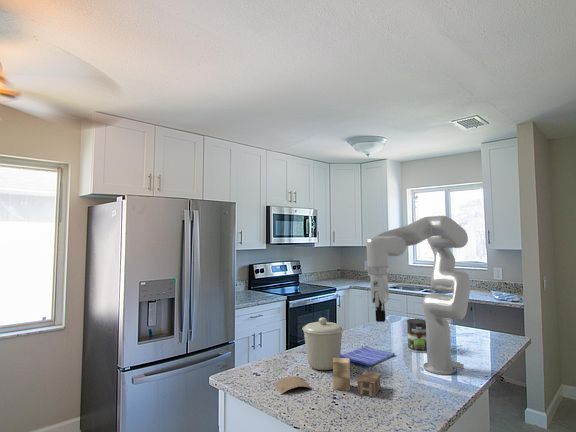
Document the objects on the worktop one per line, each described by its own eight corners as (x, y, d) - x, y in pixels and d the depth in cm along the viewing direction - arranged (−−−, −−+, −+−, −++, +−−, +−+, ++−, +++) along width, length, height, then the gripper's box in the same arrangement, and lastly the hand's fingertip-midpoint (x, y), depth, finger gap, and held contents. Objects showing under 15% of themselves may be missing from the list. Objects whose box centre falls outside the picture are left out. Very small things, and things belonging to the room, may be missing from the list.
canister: (294, 366, 158) (293, 317, 159) (321, 356, 171) (320, 311, 172) (326, 377, 145) (325, 324, 147) (352, 366, 158) (351, 317, 159)
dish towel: (335, 360, 167) (335, 354, 167) (364, 349, 183) (364, 343, 184) (367, 370, 155) (367, 363, 155) (395, 356, 171) (395, 350, 171)
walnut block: (374, 397, 127) (380, 387, 136) (374, 383, 127) (380, 373, 136) (357, 394, 130) (364, 384, 139) (357, 380, 130) (364, 371, 139)
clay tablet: (305, 380, 144) (305, 373, 144) (316, 390, 135) (315, 383, 135) (270, 386, 139) (270, 379, 139) (279, 397, 130) (279, 389, 130)
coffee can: (431, 353, 173) (430, 323, 174) (408, 352, 176) (407, 322, 177) (428, 347, 183) (427, 318, 184) (406, 345, 186) (405, 318, 187)
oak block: (350, 385, 138) (349, 358, 138) (349, 390, 133) (349, 362, 133) (334, 384, 139) (333, 357, 139) (333, 389, 134) (332, 362, 135)
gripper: (384, 273, 125) (387, 327, 125) (391, 268, 139) (394, 316, 138) (363, 273, 129) (365, 325, 128) (372, 268, 142) (374, 315, 141)
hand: (380, 320), depth 133 cm, fingers closed
